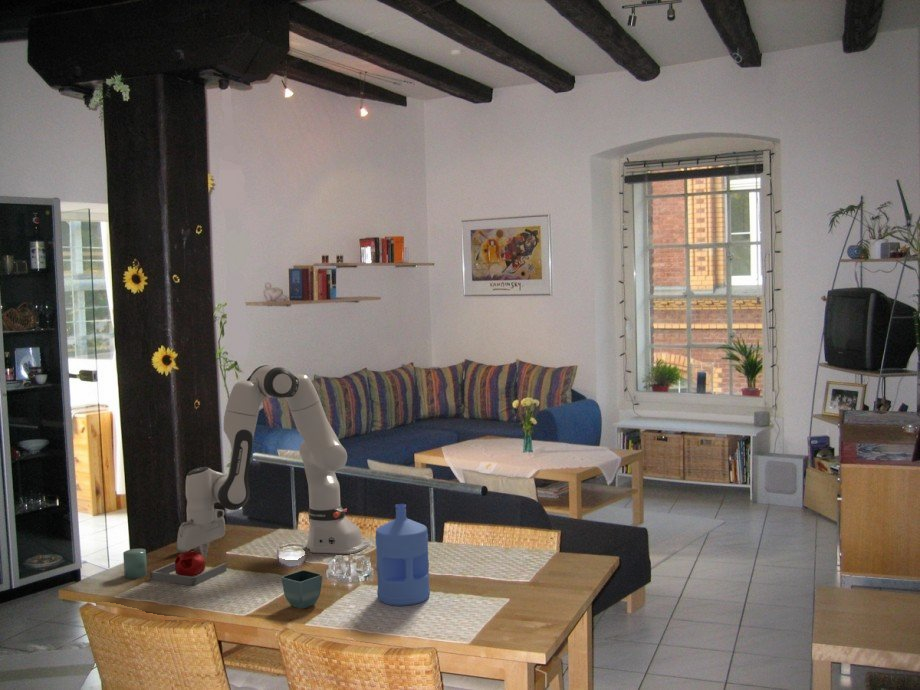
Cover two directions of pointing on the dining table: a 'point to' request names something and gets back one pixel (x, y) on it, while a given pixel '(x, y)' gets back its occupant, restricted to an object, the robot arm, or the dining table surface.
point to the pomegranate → (189, 563)
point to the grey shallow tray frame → (163, 576)
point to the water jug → (402, 561)
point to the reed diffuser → (179, 522)
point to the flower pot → (302, 588)
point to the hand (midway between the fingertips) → (202, 556)
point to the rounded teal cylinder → (135, 563)
